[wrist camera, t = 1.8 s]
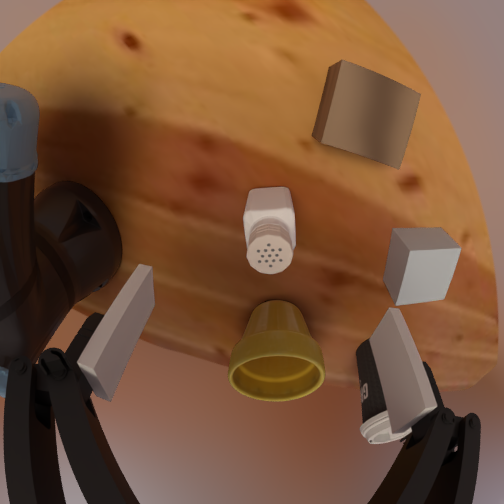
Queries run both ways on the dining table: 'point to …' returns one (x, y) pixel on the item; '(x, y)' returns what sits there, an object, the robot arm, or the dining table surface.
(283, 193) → the pepper shaker
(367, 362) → the coffee cup
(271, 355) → the plant pot
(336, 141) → the walnut block
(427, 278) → the grey-blue block
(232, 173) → the dining table surface
